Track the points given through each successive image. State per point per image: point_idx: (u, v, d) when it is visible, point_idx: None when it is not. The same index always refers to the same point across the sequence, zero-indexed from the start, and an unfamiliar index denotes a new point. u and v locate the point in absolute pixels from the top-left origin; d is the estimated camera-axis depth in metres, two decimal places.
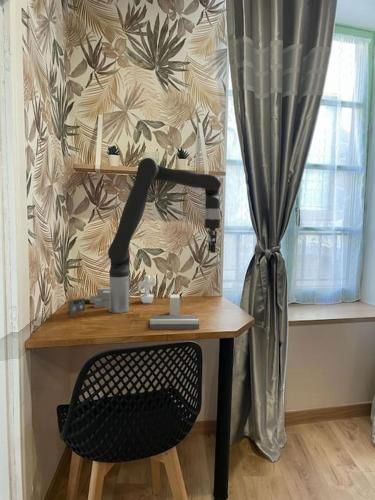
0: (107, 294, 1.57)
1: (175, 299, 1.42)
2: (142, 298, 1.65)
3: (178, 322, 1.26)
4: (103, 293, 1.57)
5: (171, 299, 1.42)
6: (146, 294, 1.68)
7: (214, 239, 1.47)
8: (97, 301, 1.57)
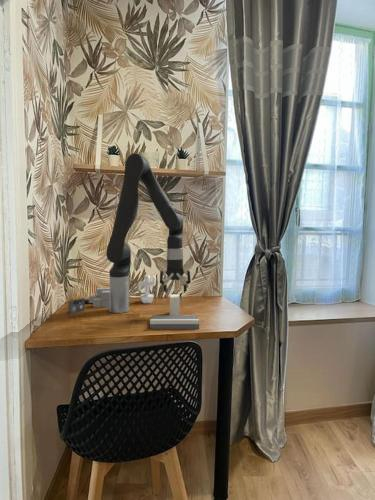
0: (106, 294, 1.58)
1: (175, 299, 1.42)
2: (142, 298, 1.65)
3: (178, 322, 1.26)
4: (102, 293, 1.57)
5: (171, 299, 1.42)
6: (146, 294, 1.68)
7: (183, 279, 1.45)
8: (96, 301, 1.57)
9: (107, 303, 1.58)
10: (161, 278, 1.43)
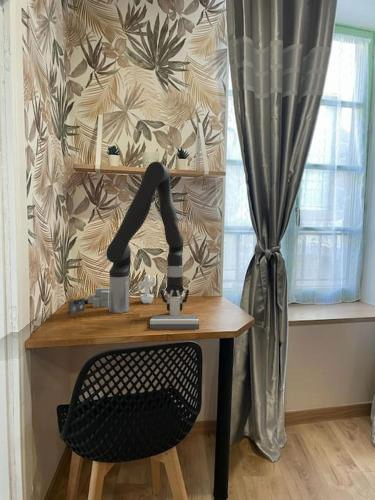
0: (105, 294, 1.58)
1: (175, 299, 1.42)
2: (142, 298, 1.65)
3: (178, 322, 1.26)
4: (101, 293, 1.58)
5: (171, 299, 1.42)
6: (146, 294, 1.68)
7: None
8: (95, 301, 1.58)
9: (106, 303, 1.58)
10: (163, 297, 1.44)
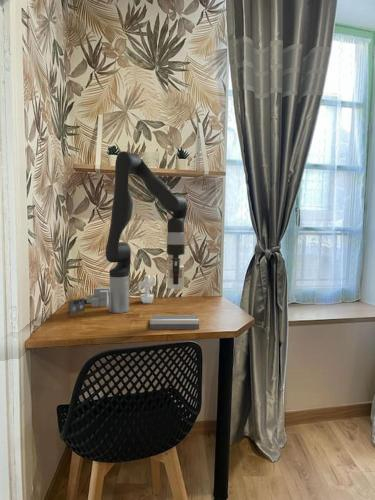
0: (104, 293, 1.58)
1: None
2: (142, 298, 1.65)
3: (178, 322, 1.26)
4: (100, 292, 1.58)
5: None
6: (146, 294, 1.68)
7: None
8: (94, 300, 1.58)
9: (105, 303, 1.59)
10: (178, 268, 1.26)
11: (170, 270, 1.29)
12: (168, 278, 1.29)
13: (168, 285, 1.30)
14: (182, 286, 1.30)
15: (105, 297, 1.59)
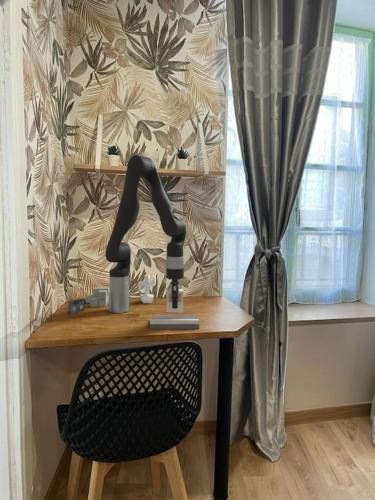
0: (103, 293, 1.59)
1: None
2: (142, 298, 1.65)
3: (178, 322, 1.26)
4: (99, 292, 1.59)
5: None
6: (146, 294, 1.68)
7: None
8: (93, 300, 1.59)
9: (104, 302, 1.59)
10: (177, 293, 1.27)
11: (169, 294, 1.29)
12: (167, 302, 1.30)
13: (167, 309, 1.30)
14: (181, 310, 1.30)
15: (104, 297, 1.59)
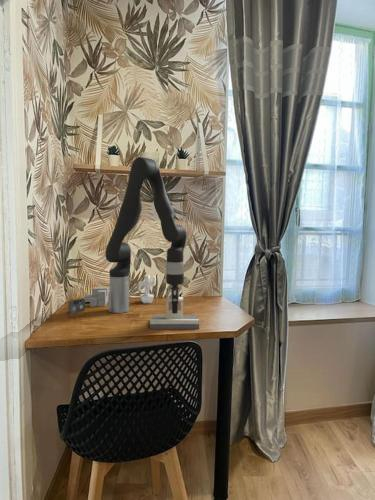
0: (102, 293, 1.59)
1: None
2: (142, 298, 1.65)
3: (178, 322, 1.26)
4: (98, 292, 1.59)
5: None
6: (146, 294, 1.68)
7: None
8: (92, 300, 1.59)
9: (103, 302, 1.60)
10: (177, 298, 1.26)
11: (169, 302, 1.30)
12: (167, 310, 1.30)
13: (167, 317, 1.30)
14: (181, 318, 1.31)
15: (103, 297, 1.59)
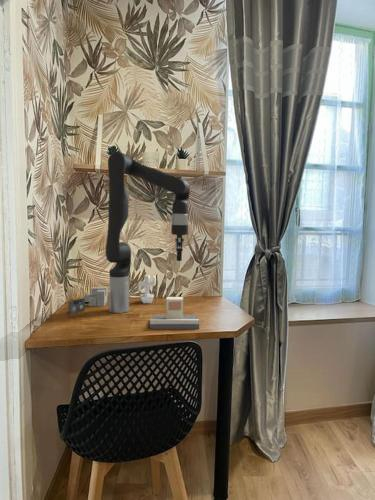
0: (101, 293, 1.60)
1: None
2: (142, 298, 1.65)
3: (178, 322, 1.26)
4: (97, 292, 1.59)
5: None
6: (146, 294, 1.68)
7: None
8: (91, 300, 1.59)
9: (102, 302, 1.60)
10: (182, 245, 1.34)
11: (169, 302, 1.30)
12: (167, 310, 1.30)
13: (167, 317, 1.30)
14: (181, 318, 1.31)
15: (102, 296, 1.60)
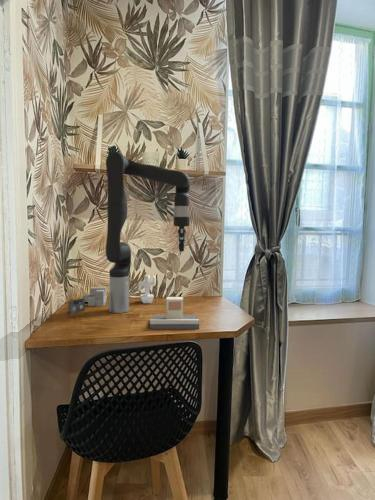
0: (101, 293, 1.60)
1: None
2: (142, 298, 1.65)
3: (178, 322, 1.26)
4: (97, 292, 1.60)
5: None
6: (146, 294, 1.68)
7: None
8: (91, 300, 1.59)
9: (102, 302, 1.60)
10: None
11: (169, 302, 1.30)
12: (167, 310, 1.30)
13: (167, 317, 1.30)
14: (181, 318, 1.31)
15: (102, 296, 1.60)
